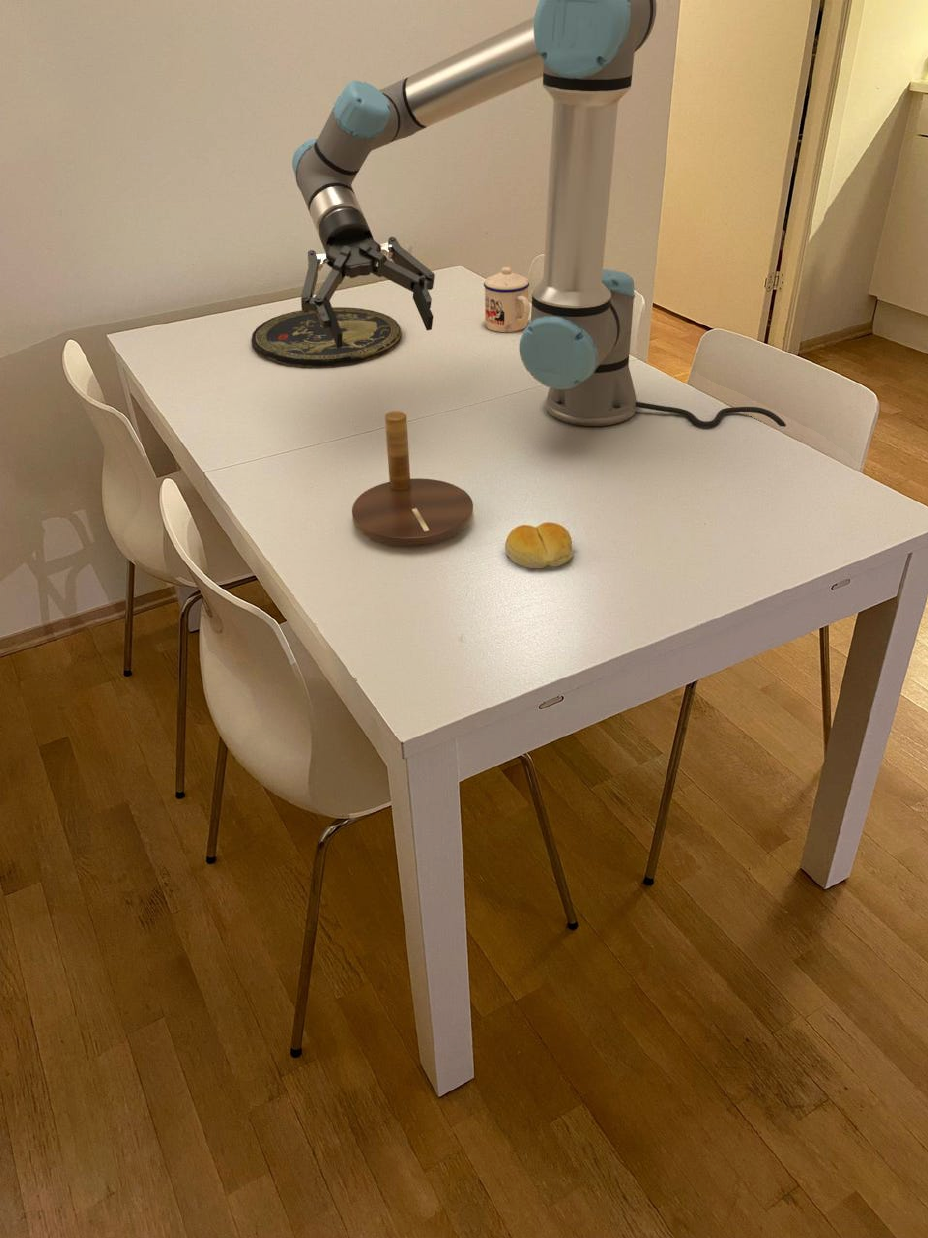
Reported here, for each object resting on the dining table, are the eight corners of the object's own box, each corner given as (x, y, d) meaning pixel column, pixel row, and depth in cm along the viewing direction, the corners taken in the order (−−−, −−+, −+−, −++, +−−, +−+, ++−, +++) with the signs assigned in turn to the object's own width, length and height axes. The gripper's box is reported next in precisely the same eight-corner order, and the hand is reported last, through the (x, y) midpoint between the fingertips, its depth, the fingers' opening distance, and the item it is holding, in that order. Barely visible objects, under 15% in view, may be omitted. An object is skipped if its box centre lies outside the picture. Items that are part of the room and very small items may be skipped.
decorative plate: (227, 354, 192) (280, 302, 216) (228, 363, 193) (281, 311, 217) (379, 364, 187) (416, 309, 211) (379, 373, 188) (417, 318, 212)
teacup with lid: (475, 323, 208) (474, 266, 201) (511, 314, 212) (511, 258, 205) (509, 340, 200) (510, 281, 193) (546, 330, 204) (547, 272, 197)
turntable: (489, 532, 137) (489, 450, 130) (368, 555, 133) (361, 472, 126) (452, 477, 150) (449, 400, 143) (340, 496, 146) (332, 419, 139)
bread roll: (501, 541, 138) (501, 516, 135) (565, 536, 138) (566, 510, 136) (510, 574, 131) (510, 547, 129) (578, 568, 132) (579, 542, 129)
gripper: (417, 232, 159) (463, 334, 151) (262, 259, 152) (301, 366, 144) (421, 194, 152) (469, 297, 144) (259, 219, 146) (300, 329, 137)
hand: (385, 332), depth 144 cm, fingers open, 13 cm apart
